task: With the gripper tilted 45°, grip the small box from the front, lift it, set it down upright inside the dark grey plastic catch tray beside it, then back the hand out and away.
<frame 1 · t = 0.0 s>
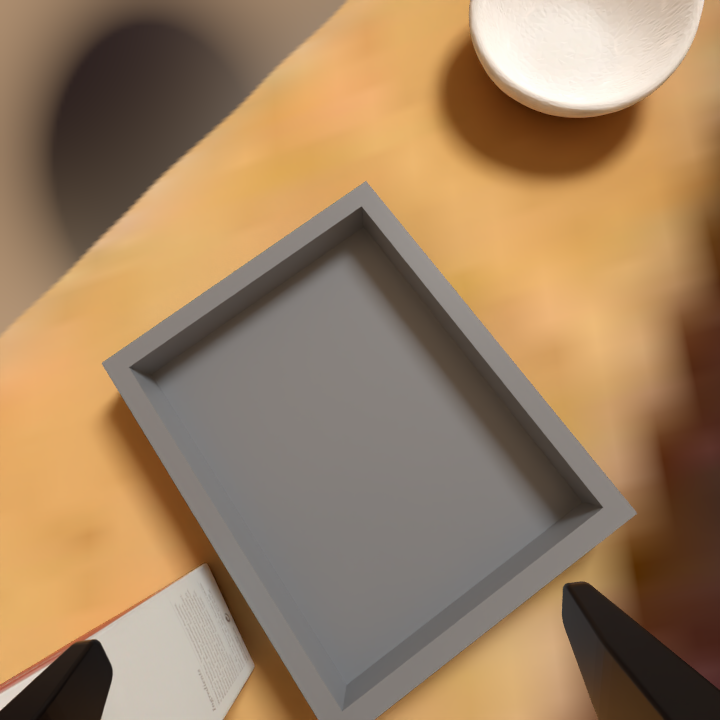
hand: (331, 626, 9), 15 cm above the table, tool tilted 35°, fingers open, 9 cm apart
catch tray: (356, 435, 24), on the table
small box: (164, 652, 23), on the table
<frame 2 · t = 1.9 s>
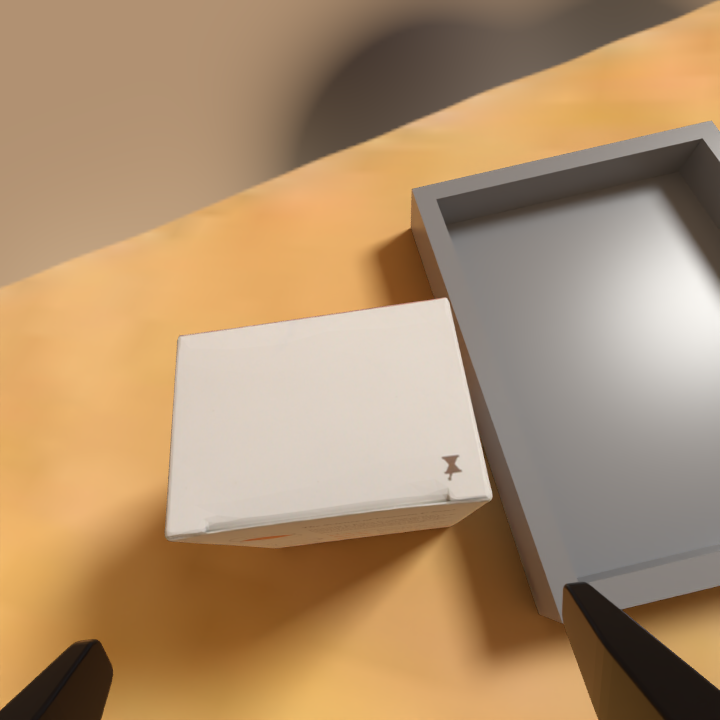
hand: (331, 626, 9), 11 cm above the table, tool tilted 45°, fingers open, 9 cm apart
catch tray: (622, 349, 23), on the table
small box: (356, 476, 22), on the table
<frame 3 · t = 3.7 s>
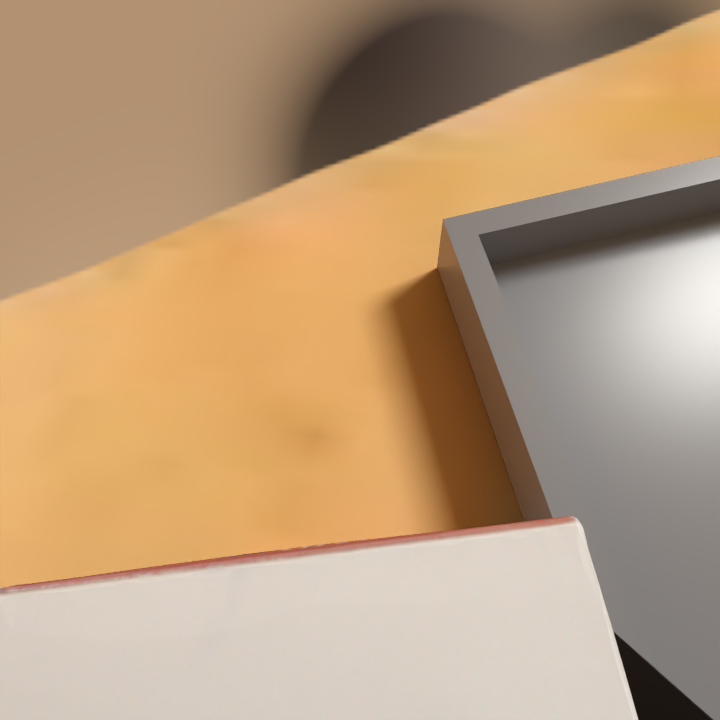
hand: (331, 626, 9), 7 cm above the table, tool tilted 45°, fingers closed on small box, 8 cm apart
small box: (366, 648, 15), on the table, touching gripper
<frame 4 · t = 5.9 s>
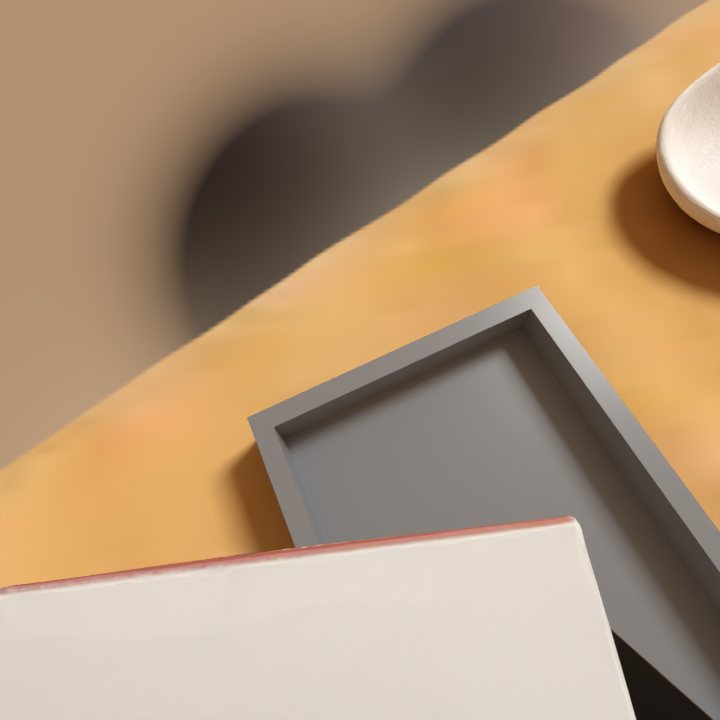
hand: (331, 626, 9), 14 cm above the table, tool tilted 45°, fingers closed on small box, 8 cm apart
catch tray: (492, 547, 22), on the table
small box: (363, 648, 15), point 7 cm above the table, touching gripper
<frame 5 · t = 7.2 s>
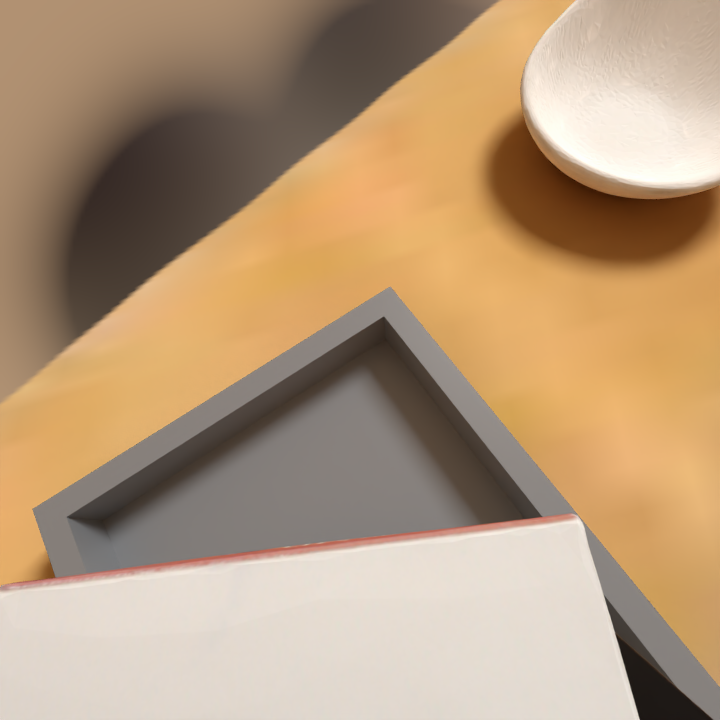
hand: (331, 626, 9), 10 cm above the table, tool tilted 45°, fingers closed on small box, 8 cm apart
catch tray: (369, 623, 17), on the table
spoon rest: (644, 80, 27), on the table
small box: (364, 646, 15), point 3 cm above the table, touching gripper
when the fingers open (9 cm above the table, at t = 8.1 s): small box drops 1 cm, resting on catch tray.
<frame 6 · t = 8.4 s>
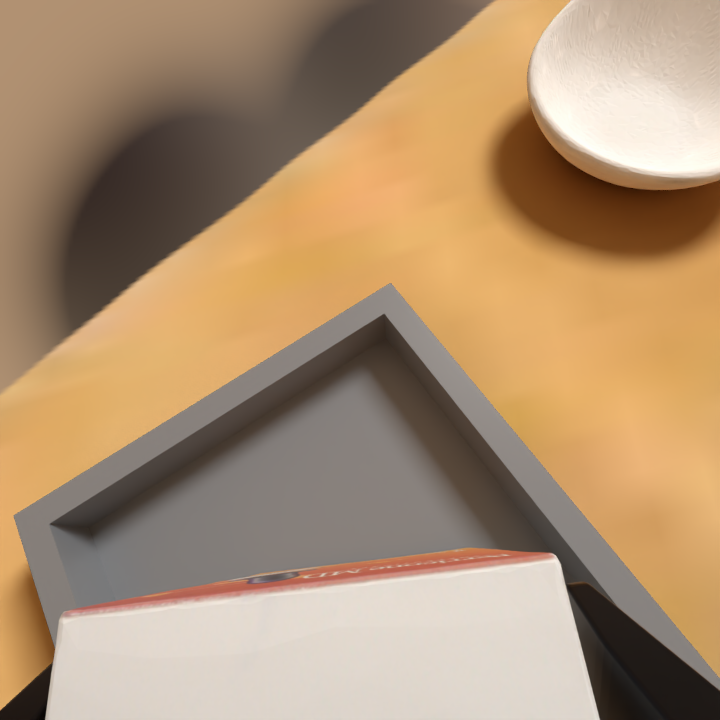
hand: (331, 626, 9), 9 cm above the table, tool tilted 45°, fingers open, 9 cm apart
catch tray: (368, 636, 16), on the table
spoon rest: (652, 72, 27), on the table
small box: (369, 647, 16), point 1 cm above the table, touching catch tray
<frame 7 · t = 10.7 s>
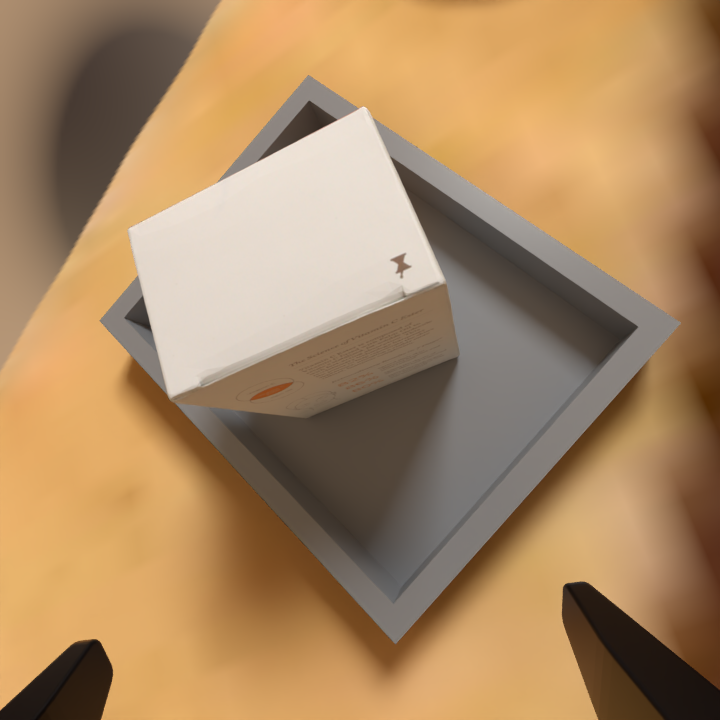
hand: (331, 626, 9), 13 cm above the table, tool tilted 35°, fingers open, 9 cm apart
catch tray: (361, 336, 23), on the table
small box: (361, 338, 22), point 1 cm above the table, touching catch tray
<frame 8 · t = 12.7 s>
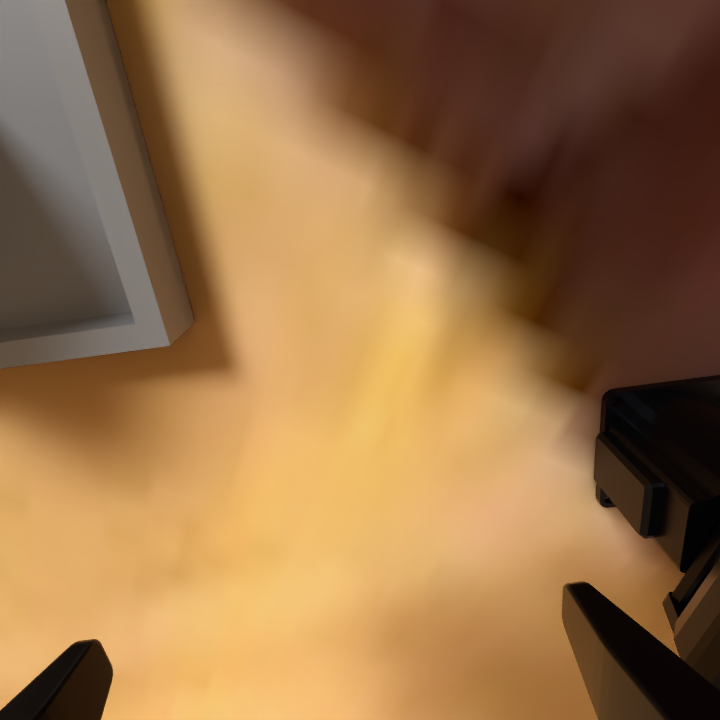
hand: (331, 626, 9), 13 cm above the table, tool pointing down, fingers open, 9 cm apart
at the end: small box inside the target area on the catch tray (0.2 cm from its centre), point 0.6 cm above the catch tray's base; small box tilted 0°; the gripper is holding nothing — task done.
